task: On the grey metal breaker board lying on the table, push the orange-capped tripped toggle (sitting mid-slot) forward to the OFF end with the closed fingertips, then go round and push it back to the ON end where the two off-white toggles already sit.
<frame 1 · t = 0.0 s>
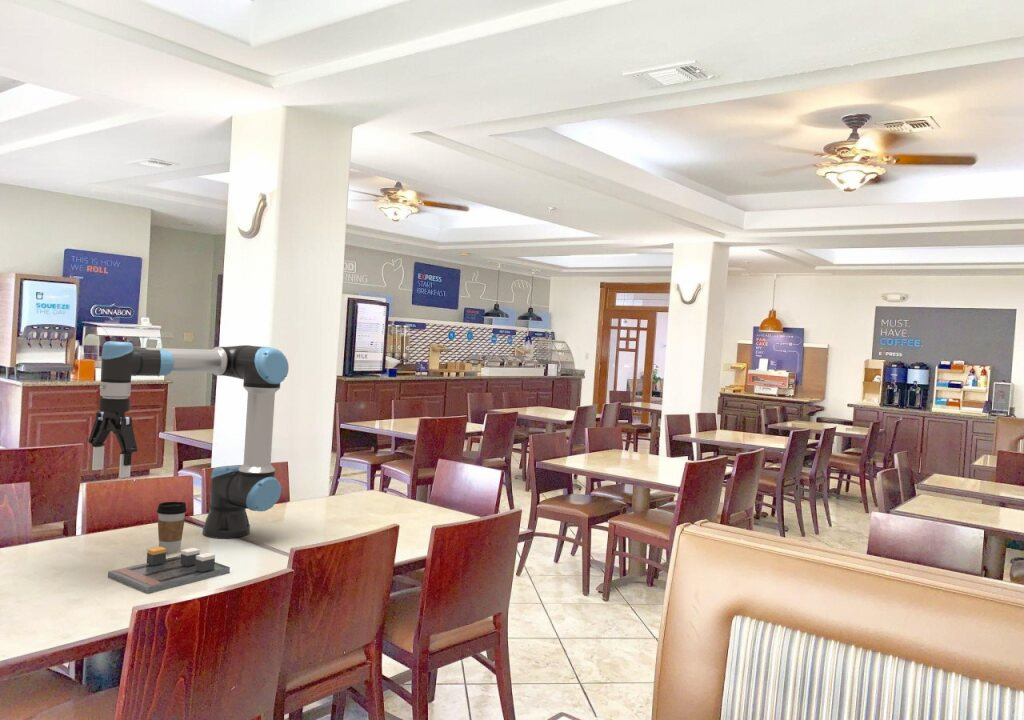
hand: (110, 473, 212), 28 cm above the table, fingers open, 13 cm apart
coffee cup: (169, 551, 237), on the table
breaker a: (190, 556, 220), point 4 cm above the table, slide at 6.0 cm
breaker tripped: (156, 555, 219), point 4 cm above the table, slide at 0.0 cm
breaker b: (205, 562, 216), point 4 cm above the table, slide at 6.0 cm
panel: (170, 574, 215), on the table
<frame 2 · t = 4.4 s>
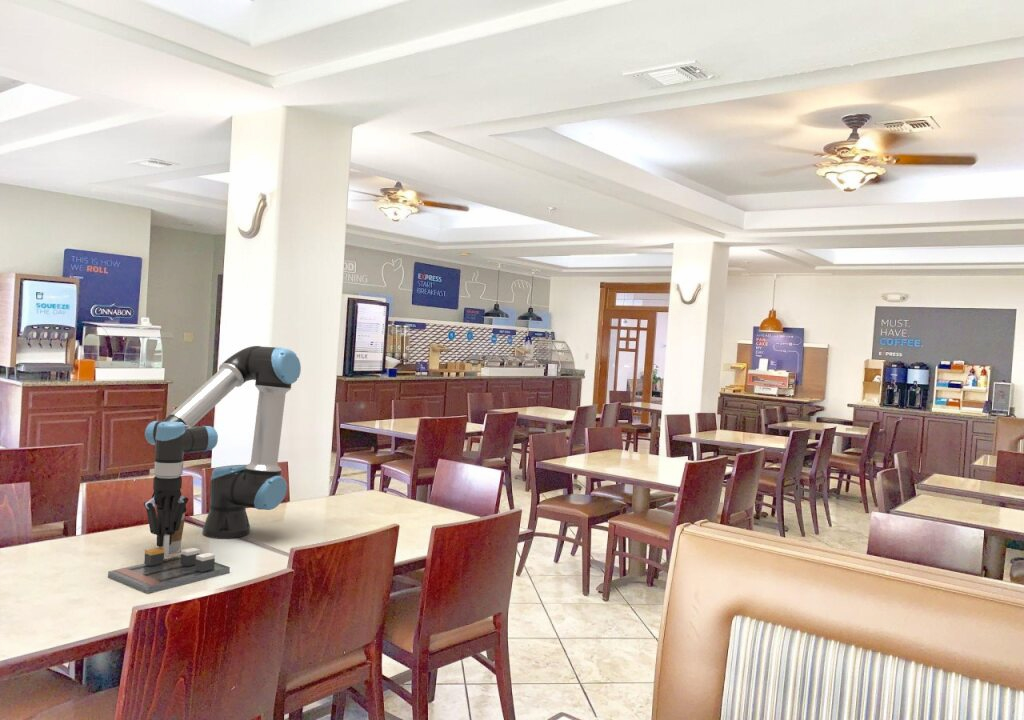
hand: (163, 556, 221), 3 cm above the table, fingers closed
breaker tripped: (154, 556, 218), point 4 cm above the table, slide at -0.7 cm, touching gripper
everything else where it was.
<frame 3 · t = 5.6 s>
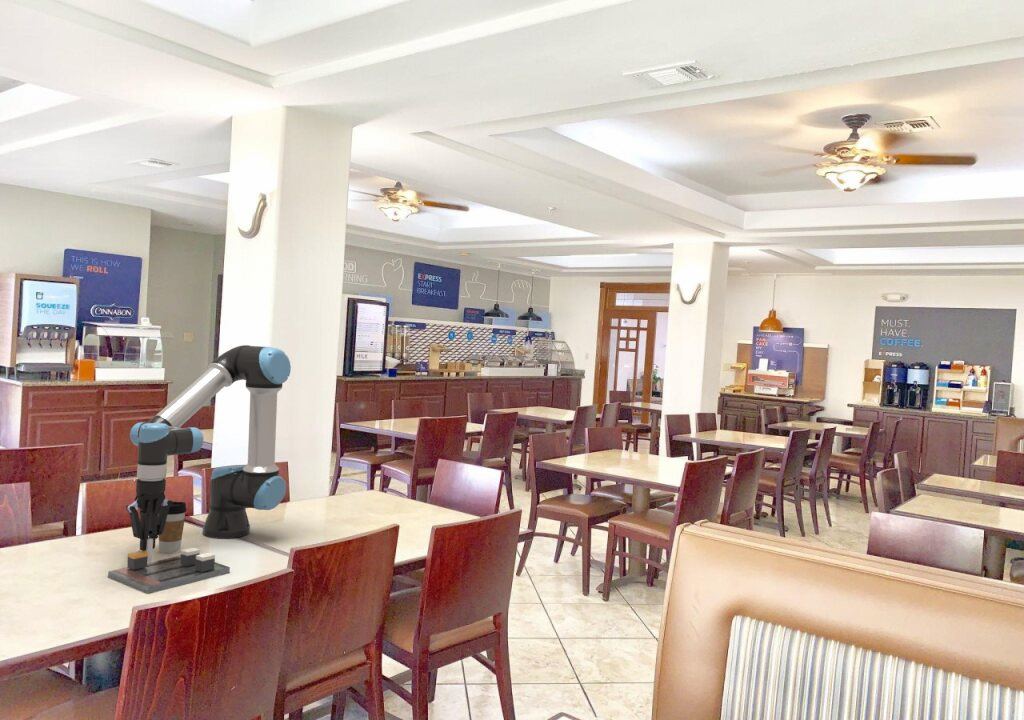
hand: (146, 561, 216), 3 cm above the table, fingers closed
breaker tripped: (137, 560, 214), point 4 cm above the table, slide at -5.7 cm, touching gripper
everything else where it was.
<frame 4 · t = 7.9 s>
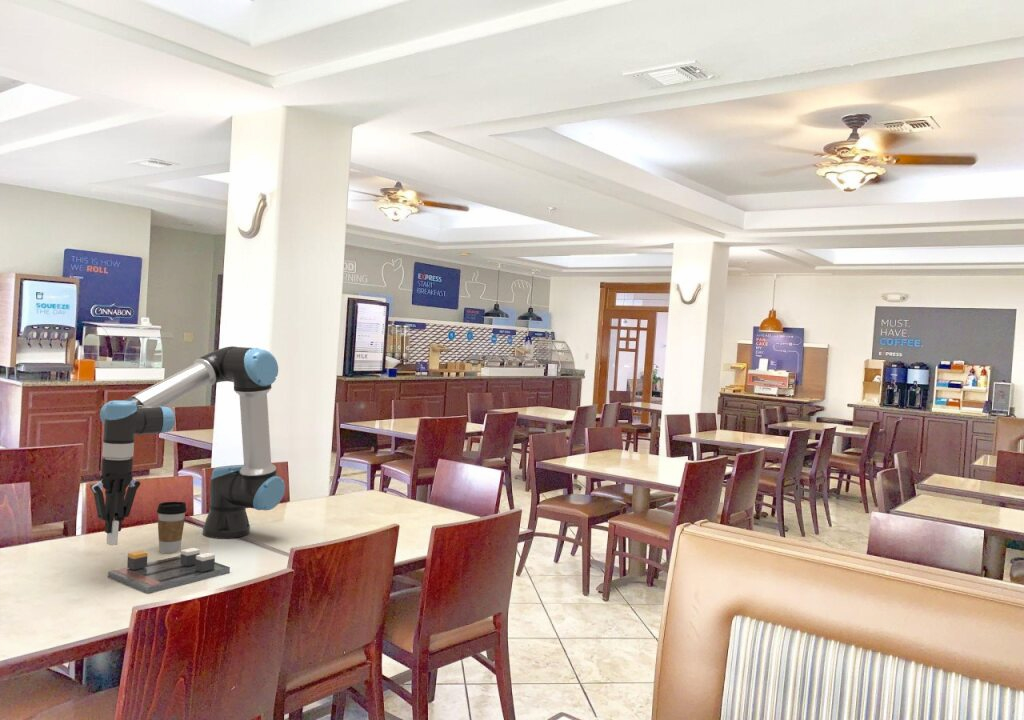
hand: (111, 544, 207), 10 cm above the table, fingers closed
breaker tripped: (137, 560, 214), point 4 cm above the table, slide at -5.7 cm
everything else where it was.
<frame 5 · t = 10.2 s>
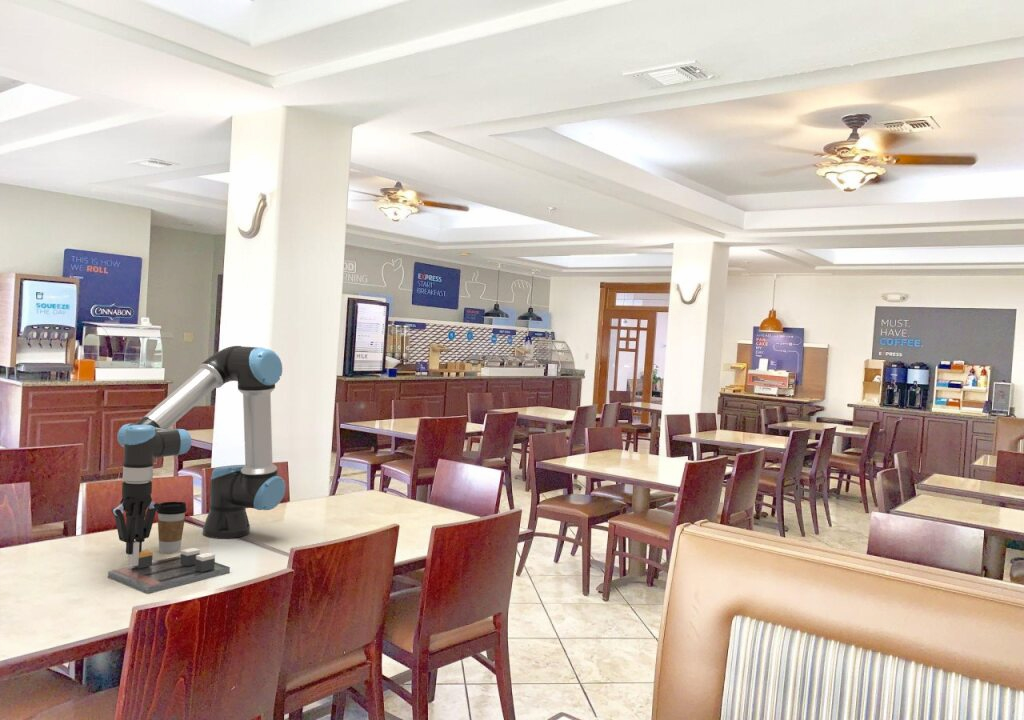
hand: (133, 564, 213), 3 cm above the table, fingers closed
breaker tripped: (142, 558, 215), point 4 cm above the table, slide at -4.2 cm, touching gripper
everything else where it was.
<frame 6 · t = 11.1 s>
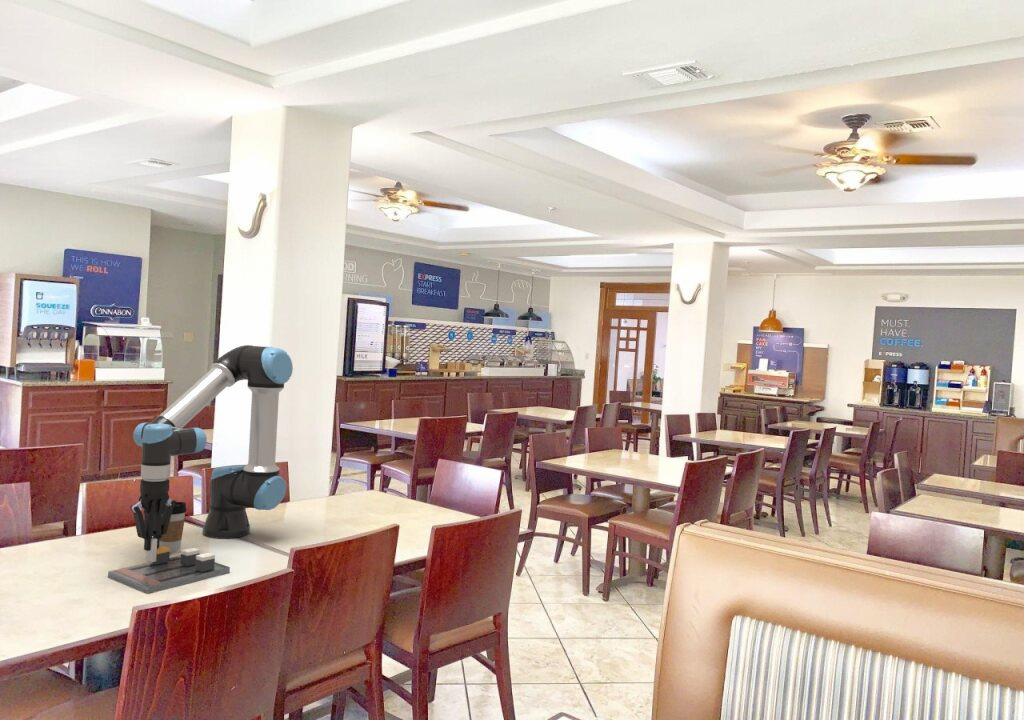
hand: (150, 560, 217), 3 cm above the table, fingers closed
breaker tripped: (160, 555, 220), point 4 cm above the table, slide at 1.1 cm, touching gripper
everything else where it was.
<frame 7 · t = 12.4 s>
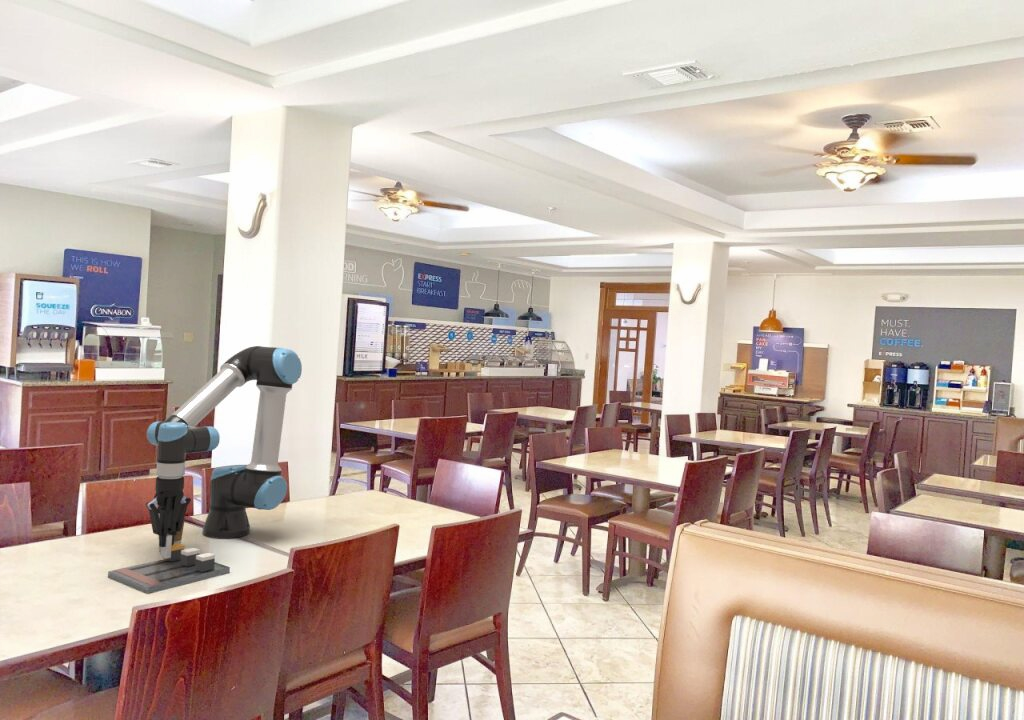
hand: (165, 557, 221), 3 cm above the table, fingers closed
breaker tripped: (174, 552, 224), point 4 cm above the table, slide at 5.7 cm, touching gripper
everything else where it was.
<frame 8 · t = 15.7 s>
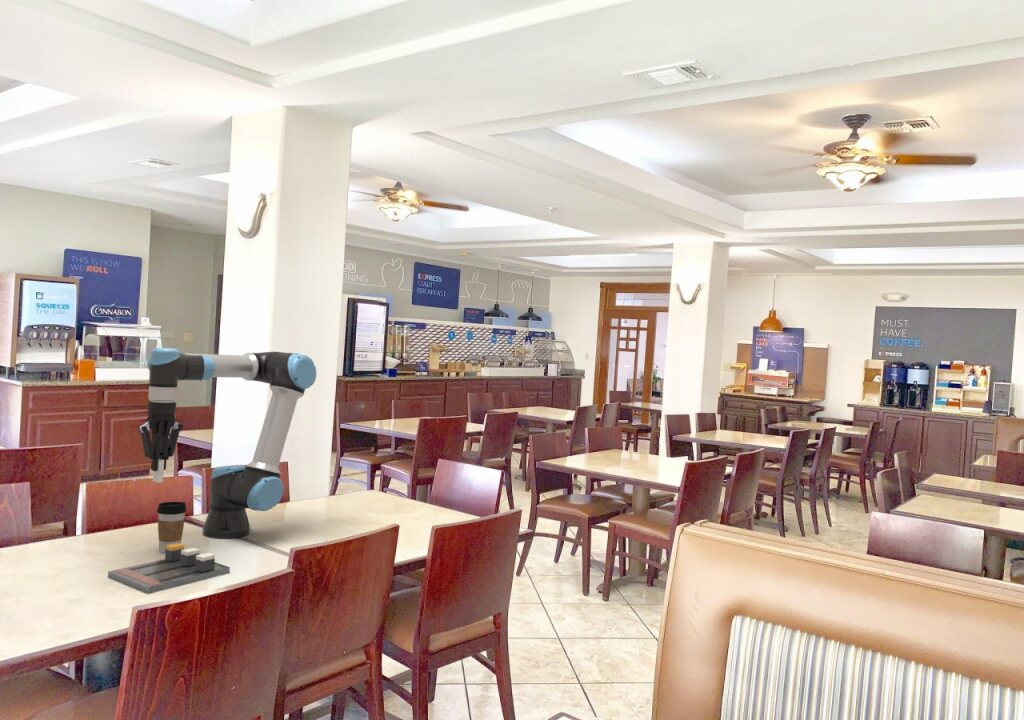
hand: (157, 481, 222), 24 cm above the table, fingers closed
breaker tripped: (174, 552, 224), point 4 cm above the table, slide at 5.7 cm
everything else where it was.
at the end: breaker tripped slide at 5.7 cm; breaker a slide at 6.0 cm; breaker b slide at 6.0 cm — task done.
